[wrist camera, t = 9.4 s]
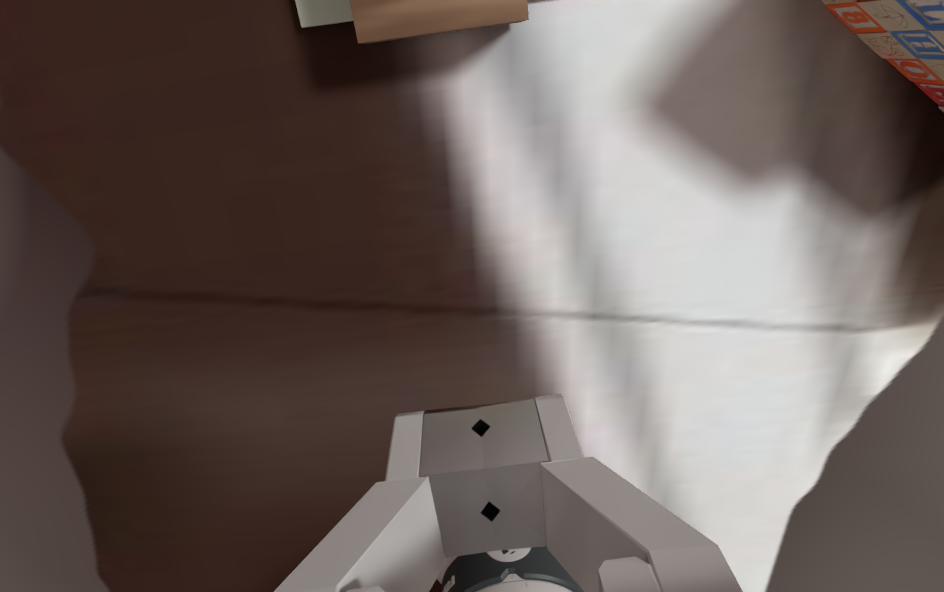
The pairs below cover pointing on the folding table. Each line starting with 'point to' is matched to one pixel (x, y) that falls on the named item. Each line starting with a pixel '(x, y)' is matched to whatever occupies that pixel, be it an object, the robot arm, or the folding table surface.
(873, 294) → the folding table surface
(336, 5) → the mat
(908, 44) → the stack of blocks
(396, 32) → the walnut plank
